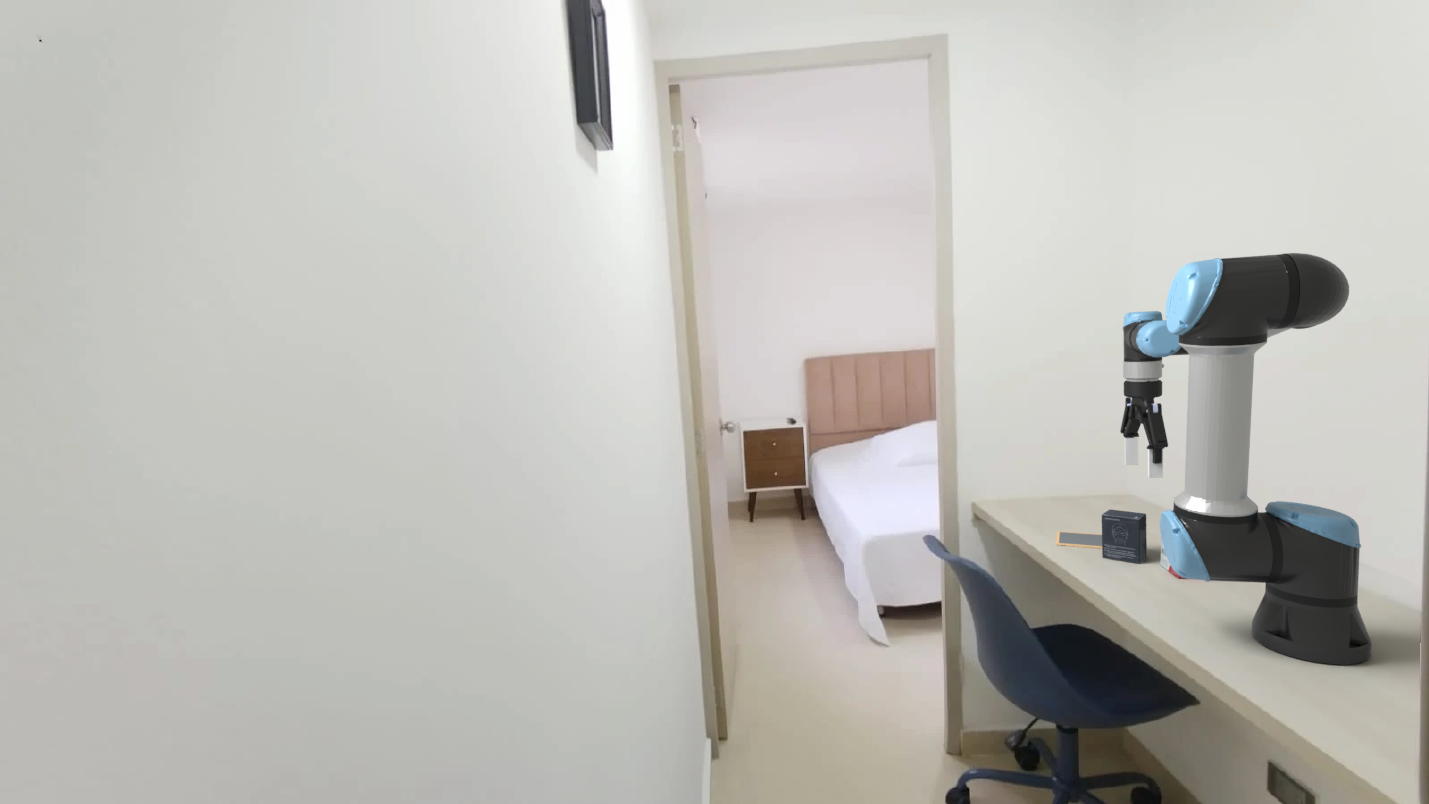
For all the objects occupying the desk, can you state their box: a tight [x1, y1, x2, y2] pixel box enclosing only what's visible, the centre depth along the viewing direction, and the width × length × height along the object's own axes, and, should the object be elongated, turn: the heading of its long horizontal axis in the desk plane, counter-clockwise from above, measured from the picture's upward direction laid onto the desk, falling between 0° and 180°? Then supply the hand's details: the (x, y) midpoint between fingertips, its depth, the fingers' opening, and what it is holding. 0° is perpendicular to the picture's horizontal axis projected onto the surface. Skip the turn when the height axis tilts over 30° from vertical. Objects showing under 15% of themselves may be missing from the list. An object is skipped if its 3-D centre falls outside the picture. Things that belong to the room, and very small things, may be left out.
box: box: [1101, 509, 1148, 564], centre depth 161 cm, size 8×6×11 cm
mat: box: [1055, 530, 1102, 550], centre depth 175 cm, size 11×11×1 cm
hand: (1142, 470), depth 161 cm, fingers open, 13 cm apart
